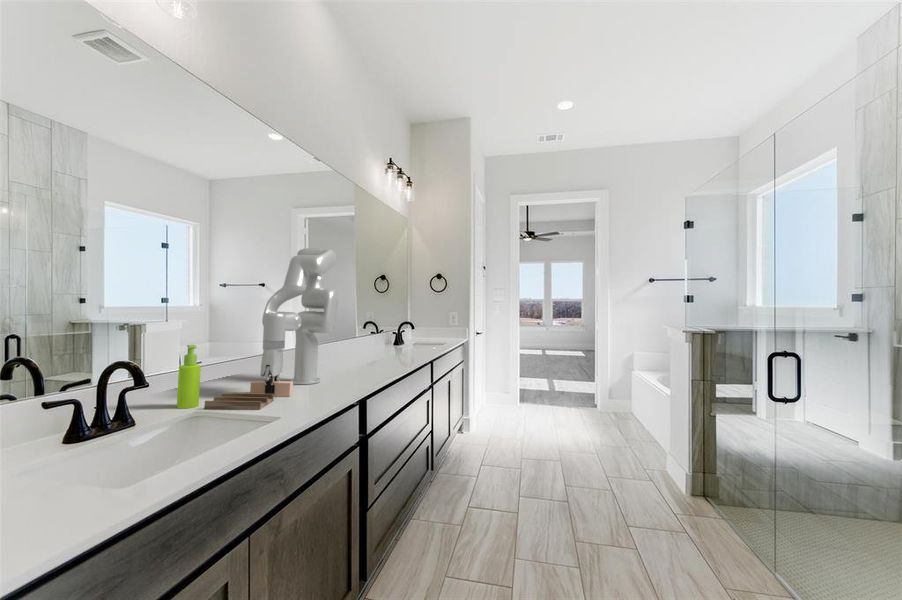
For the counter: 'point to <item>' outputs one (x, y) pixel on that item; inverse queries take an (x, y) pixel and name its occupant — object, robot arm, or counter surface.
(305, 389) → the counter surface
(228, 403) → the drying rack
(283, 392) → the pink rectangular block
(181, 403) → the soap dispenser
